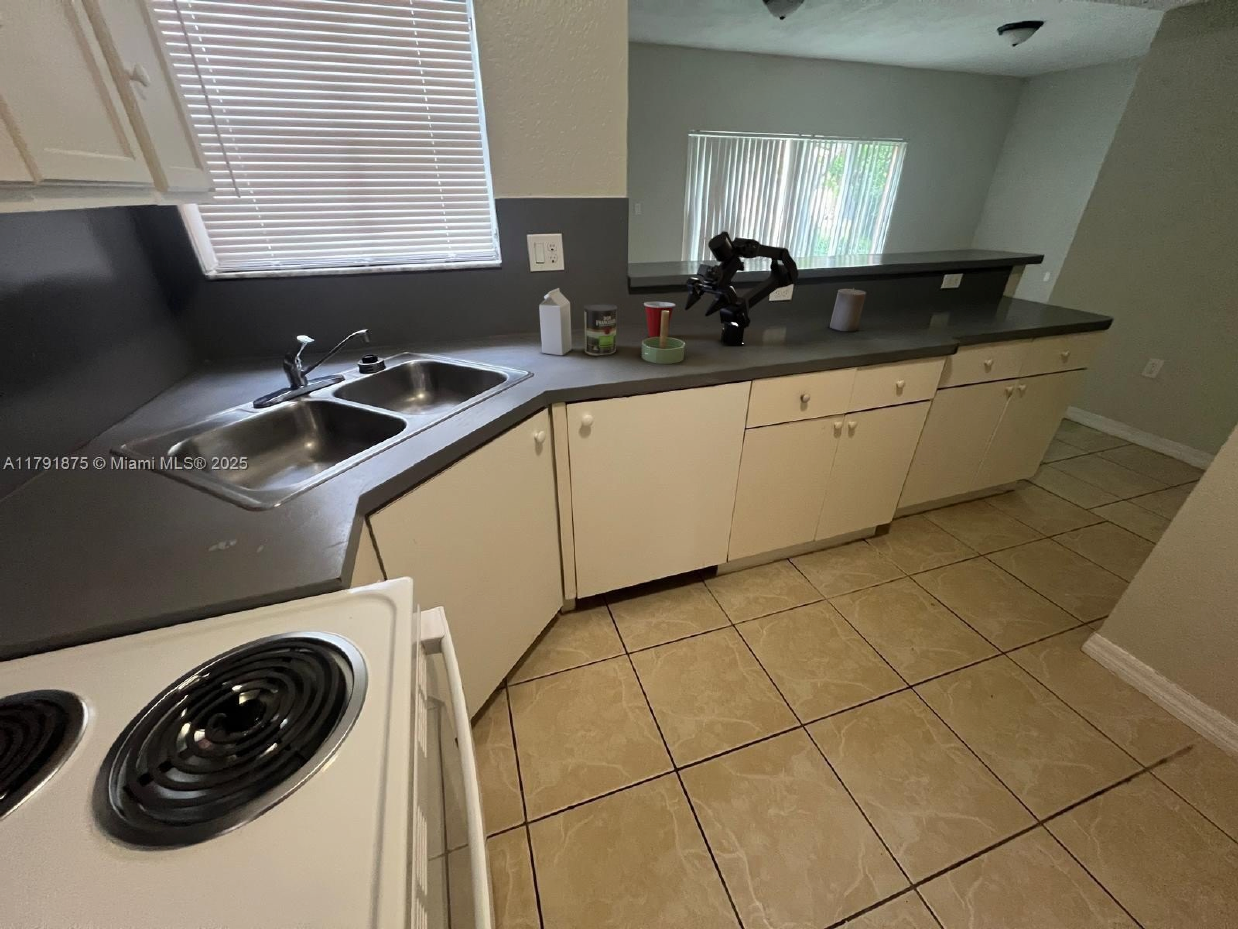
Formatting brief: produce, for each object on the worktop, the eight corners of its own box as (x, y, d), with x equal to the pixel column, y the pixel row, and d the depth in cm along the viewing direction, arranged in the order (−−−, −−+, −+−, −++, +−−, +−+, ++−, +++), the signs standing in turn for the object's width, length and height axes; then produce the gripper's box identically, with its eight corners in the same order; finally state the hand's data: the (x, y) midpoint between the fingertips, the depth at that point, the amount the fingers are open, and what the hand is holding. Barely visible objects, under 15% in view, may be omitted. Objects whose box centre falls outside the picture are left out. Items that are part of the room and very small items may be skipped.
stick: (668, 354, 154) (672, 309, 147) (671, 359, 150) (675, 313, 142) (653, 354, 153) (655, 309, 146) (655, 359, 149) (658, 313, 142)
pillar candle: (853, 326, 190) (864, 286, 183) (858, 332, 182) (869, 291, 174) (827, 324, 192) (837, 284, 184) (831, 330, 184) (841, 289, 176)
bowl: (679, 351, 158) (680, 336, 155) (687, 365, 147) (688, 349, 144) (638, 352, 157) (639, 336, 154) (644, 366, 146) (644, 349, 143)
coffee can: (621, 353, 155) (622, 308, 148) (592, 358, 151) (592, 311, 144) (607, 344, 163) (608, 301, 156) (579, 348, 159) (578, 304, 152)
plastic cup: (672, 334, 176) (675, 299, 170) (672, 342, 167) (675, 306, 161) (643, 332, 177) (644, 298, 171) (641, 341, 167) (642, 305, 161)
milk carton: (571, 349, 158) (569, 288, 148) (562, 356, 152) (559, 293, 142) (551, 347, 160) (548, 286, 150) (542, 353, 154) (538, 291, 144)
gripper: (692, 250, 152) (663, 289, 152) (737, 257, 139) (705, 301, 139) (708, 274, 160) (680, 312, 160) (751, 284, 147) (720, 325, 147)
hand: (695, 312), depth 152 cm, fingers open, 9 cm apart
